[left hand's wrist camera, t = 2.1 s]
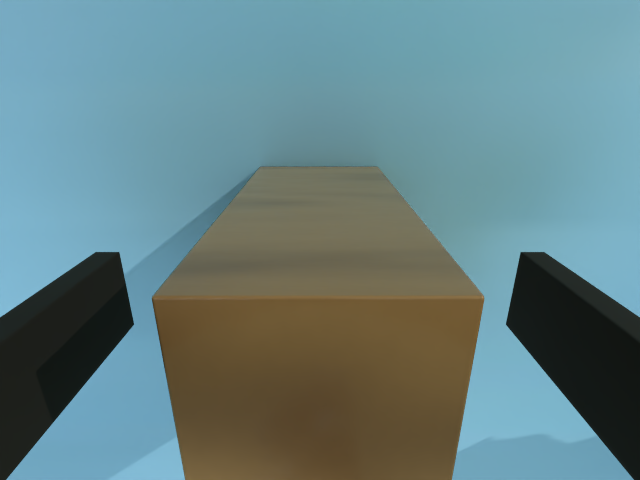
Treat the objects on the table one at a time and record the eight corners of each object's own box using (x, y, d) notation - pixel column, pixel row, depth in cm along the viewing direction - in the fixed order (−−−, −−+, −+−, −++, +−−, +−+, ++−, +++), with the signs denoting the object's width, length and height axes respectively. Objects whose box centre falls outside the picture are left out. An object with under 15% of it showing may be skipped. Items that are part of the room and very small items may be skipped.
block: (371, 281, 19) (443, 533, 8) (266, 281, 19) (193, 533, 8) (378, 166, 17) (486, 296, 6) (259, 166, 17) (149, 296, 6)
